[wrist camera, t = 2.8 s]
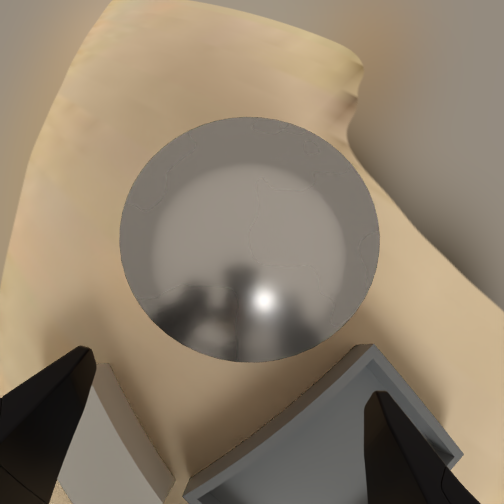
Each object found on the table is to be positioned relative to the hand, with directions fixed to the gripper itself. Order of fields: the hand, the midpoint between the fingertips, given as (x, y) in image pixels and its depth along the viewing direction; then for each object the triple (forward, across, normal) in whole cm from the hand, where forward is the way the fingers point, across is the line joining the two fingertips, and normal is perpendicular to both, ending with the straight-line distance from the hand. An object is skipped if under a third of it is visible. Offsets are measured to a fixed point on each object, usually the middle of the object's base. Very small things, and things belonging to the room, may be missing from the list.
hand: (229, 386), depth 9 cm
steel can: (+10, 0, +4) cm, 11 cm away
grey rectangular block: (+3, +8, +12) cm, 15 cm away
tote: (+2, -7, +12) cm, 14 cm away
